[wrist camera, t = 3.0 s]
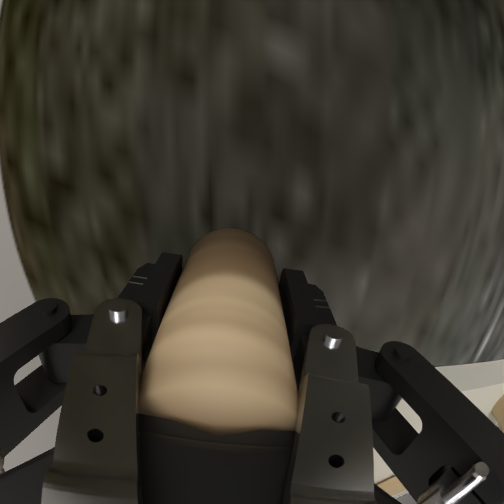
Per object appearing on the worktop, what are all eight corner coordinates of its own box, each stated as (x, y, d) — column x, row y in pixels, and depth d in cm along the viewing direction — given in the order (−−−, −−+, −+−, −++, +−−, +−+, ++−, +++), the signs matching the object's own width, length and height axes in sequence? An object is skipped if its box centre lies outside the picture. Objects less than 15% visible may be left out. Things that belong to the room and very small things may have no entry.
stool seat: (273, 366, 15) (290, 548, 6) (520, 356, 16) (577, 432, 7) (236, 488, 21) (236, 579, 12) (430, 468, 22) (455, 534, 14)
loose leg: (190, 222, 12) (114, 368, 4) (281, 235, 12) (328, 393, 5) (184, 301, 13) (138, 464, 6) (266, 312, 13) (282, 480, 6)
